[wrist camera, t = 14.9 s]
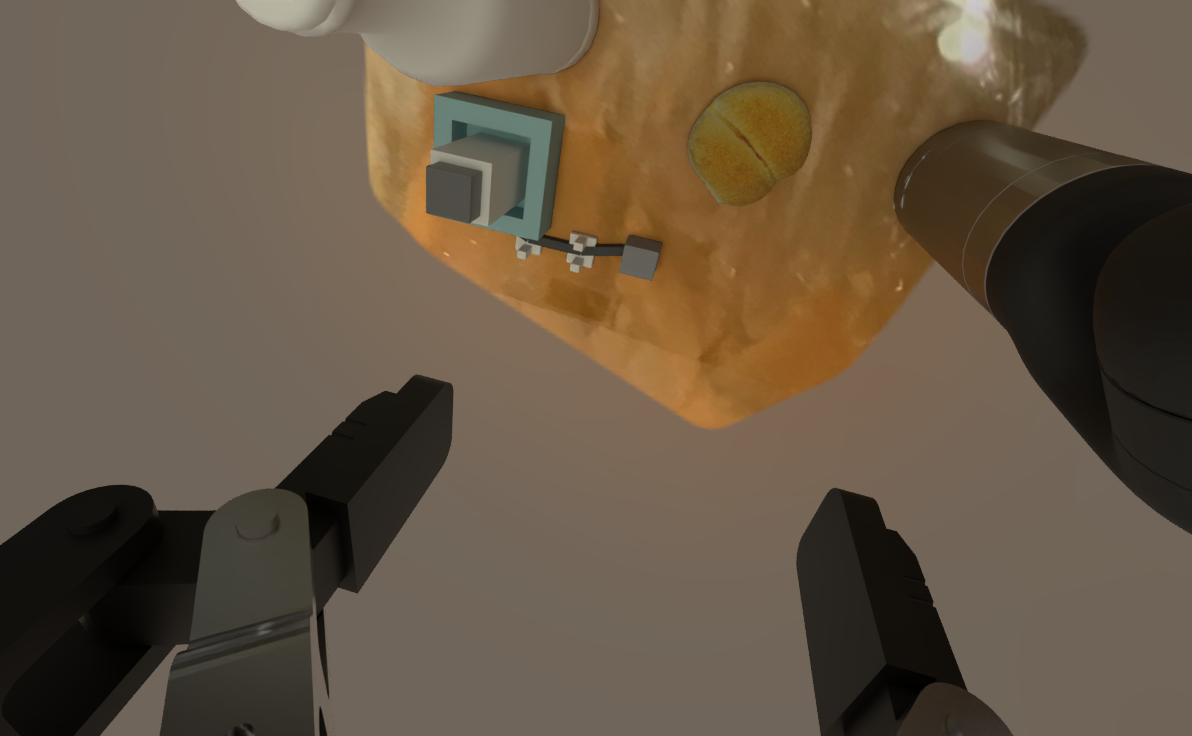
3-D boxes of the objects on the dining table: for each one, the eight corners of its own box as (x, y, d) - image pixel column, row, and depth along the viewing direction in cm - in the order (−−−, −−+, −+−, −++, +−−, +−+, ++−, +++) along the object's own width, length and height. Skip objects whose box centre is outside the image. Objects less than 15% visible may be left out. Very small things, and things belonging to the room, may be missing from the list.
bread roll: (829, 141, 41) (838, 150, 38) (731, 216, 45) (732, 230, 42) (766, 50, 39) (770, 50, 35) (670, 138, 43) (666, 145, 40)
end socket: (565, 115, 44) (552, 121, 40) (550, 227, 49) (537, 240, 45) (455, 91, 44) (434, 94, 41) (452, 203, 49) (433, 215, 46)
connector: (531, 143, 44) (481, 169, 35) (525, 197, 47) (477, 234, 38) (480, 132, 45) (417, 154, 35) (477, 186, 47) (417, 220, 38)
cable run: (662, 242, 47) (659, 252, 45) (652, 280, 49) (649, 292, 47) (512, 207, 48) (502, 215, 46) (509, 245, 50) (499, 255, 48)
